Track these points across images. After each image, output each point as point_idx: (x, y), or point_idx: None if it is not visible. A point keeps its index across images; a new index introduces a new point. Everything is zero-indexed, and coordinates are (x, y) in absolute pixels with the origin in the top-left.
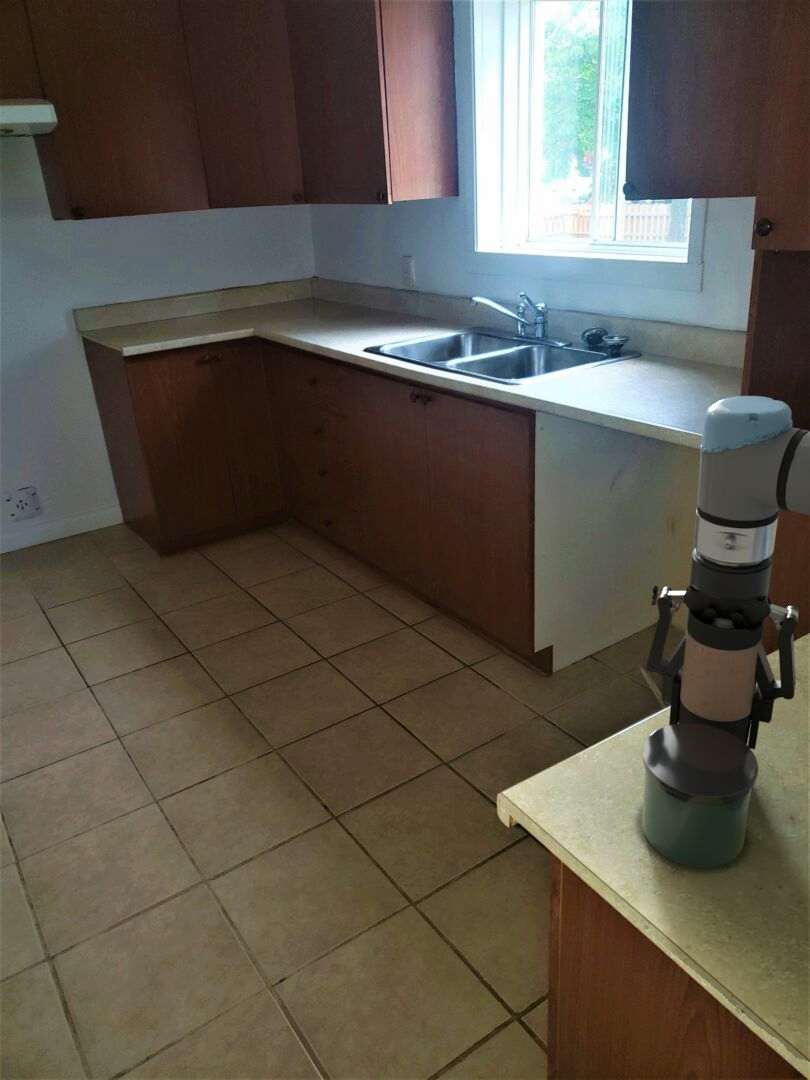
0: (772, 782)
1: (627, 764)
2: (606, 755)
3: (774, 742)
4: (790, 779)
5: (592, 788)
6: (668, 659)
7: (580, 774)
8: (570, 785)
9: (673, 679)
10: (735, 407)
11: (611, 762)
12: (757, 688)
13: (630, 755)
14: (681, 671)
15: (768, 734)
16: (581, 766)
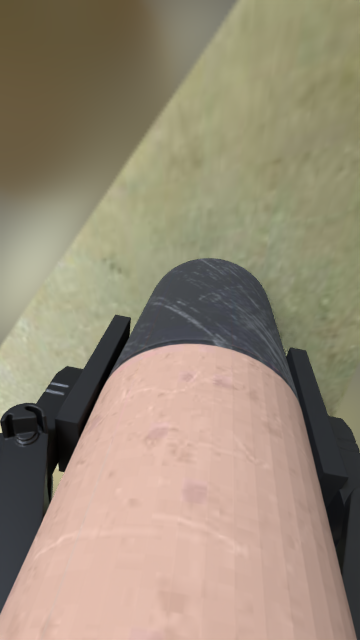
0: (314, 347)
1: (74, 340)
2: (35, 325)
3: (356, 233)
4: (351, 336)
5: (42, 390)
6: (3, 426)
7: (15, 368)
8: (12, 388)
9: (57, 460)
10: None
11: (49, 339)
12: (321, 483)
13: (72, 319)
14: (71, 424)
15: (351, 204)
16: (10, 353)
